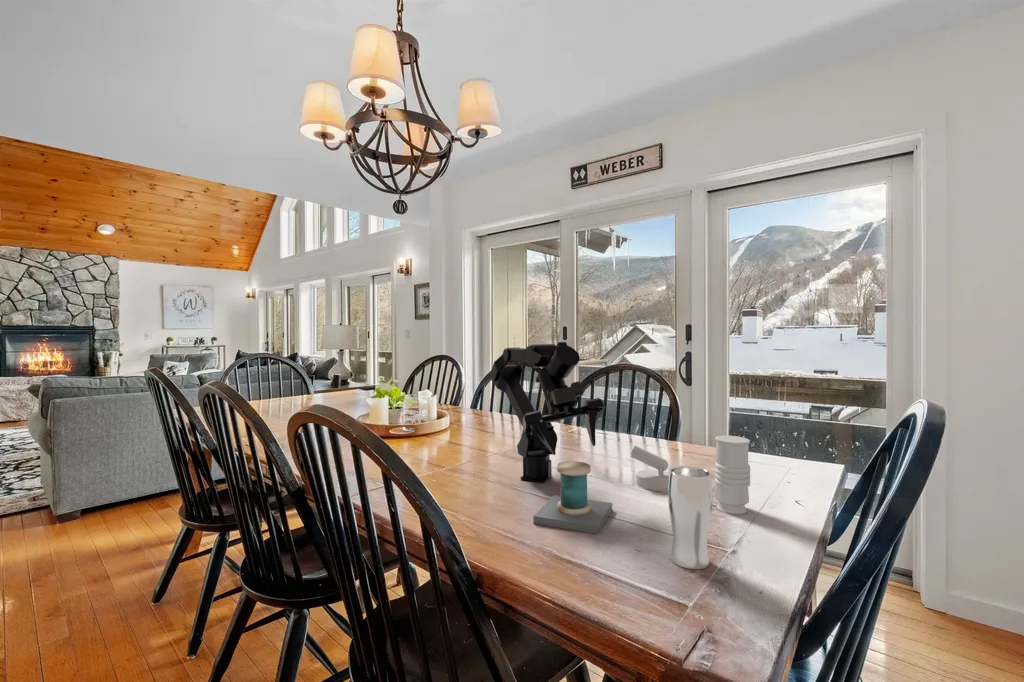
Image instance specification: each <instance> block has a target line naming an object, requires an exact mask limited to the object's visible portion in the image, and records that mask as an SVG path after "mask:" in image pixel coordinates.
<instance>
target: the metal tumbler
mask: <svg viewBox="0 0 1024 682" xmlns="http://www.w3.org/2000/svg"><path fill="white" fill-rule="evenodd" d="M668 473H669V484H668V490H667V504H668V510H669V516H670V517H669V518H670V522H671V528H672V529H671V530H672V546H671V549H670V550H671V551H670V560H671V562H673V564H675V565H676V566H678V567H681V568H684V569H688V570H703V569H706V568H708V566H709V565H710V558H709V552H708V543H707V541H708V533H709V528H710V523H711V518H712V511H713V500H714V499H713V498H714V497H713V484H712V483H713V482H712V473H711V472H710V470H707V469H706V468H701V467H697V466H691V465H690V466H689V465H688V466H687V465H685V466H684V465H681V466H679V465H678V466H673V467H670V468H669V472H668Z"/></svg>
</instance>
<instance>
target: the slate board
mask: <svg viewBox="0 0 1024 682" xmlns="http://www.w3.org/2000/svg"><path fill="white" fill-rule="evenodd" d="M559 501H561V495H555V494H554V495H552V496H551V497H550V499H548V501H546V502H545V504H544V505H542V507H541V508H539V510H538V511H537V512H536V513H534V514H533V517H532V518H533V519H532V520H533V524H536V525H541V526H547V527H553V528H559V529H565V530H571V531H577V532H585V533H590V534H597V535H598V534H599V533H600V531H601V530H602V528H603V526H604V525H605V523H606V521H607V519H608V518H609V516H610V515H611V513H612V511H613V502H607V501H606V502H605V501H602V500H601V501H600V500H593V499H587V502H589V503H590V504H591V511H590V512H589V513H587V514H584V515H576V516H575V515H566V514H563V513H561V512H559V511H558V509H557V503H558V502H559Z"/></svg>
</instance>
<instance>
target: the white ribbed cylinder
mask: <svg viewBox="0 0 1024 682" xmlns="http://www.w3.org/2000/svg"><path fill="white" fill-rule="evenodd" d="M714 440H715V441H716V450H715V451H716V452H715V453H716V455H715V457H716V459H715V460H716V461H715V463H714V467H715V468H714V472H715V473H714V481H713V482H714V483H715V488H714V499H715V500H716V501H718V503H717V505H716V508H717V509H718V510H719V511H721V512H723V513H727V514H732V515H733V514H734V515H742V514H745V513H747V511H748V510H747V508H746V506H745V505H747V504H748V503H750V493H749V487H751V465H750V464H749V445H750V443H751V440H750V439H748V438H746V437H742V436H738V435H717V436H715V437H714Z"/></svg>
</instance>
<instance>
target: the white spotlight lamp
mask: <svg viewBox="0 0 1024 682" xmlns="http://www.w3.org/2000/svg"><path fill="white" fill-rule="evenodd" d="M630 457H631V458H633V459H635V460H636V461H639V462H641V463H643V464H645V465H647V466H649V467H651V468H654V469H641V470H638V471H636V473H635V485H636V484H637V485H638V486H637V485H636V486H637V487H639V488H641V487H642V488H641V489H644V488H645V489H644V490H648V489H650V490H649V491H657V490H661V491H668V490H667V489H668V484H669V472H667V470H668V468H669V462H668V461H667V460H666V459H665V458H664V457H661V456H659V455H657V454H655V453H652V452H651V451H648V450H646V449H643V448H642V447H639V446H638V445H636V444H635V445H634V446H633V448H632V450H631V453H630Z"/></svg>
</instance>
